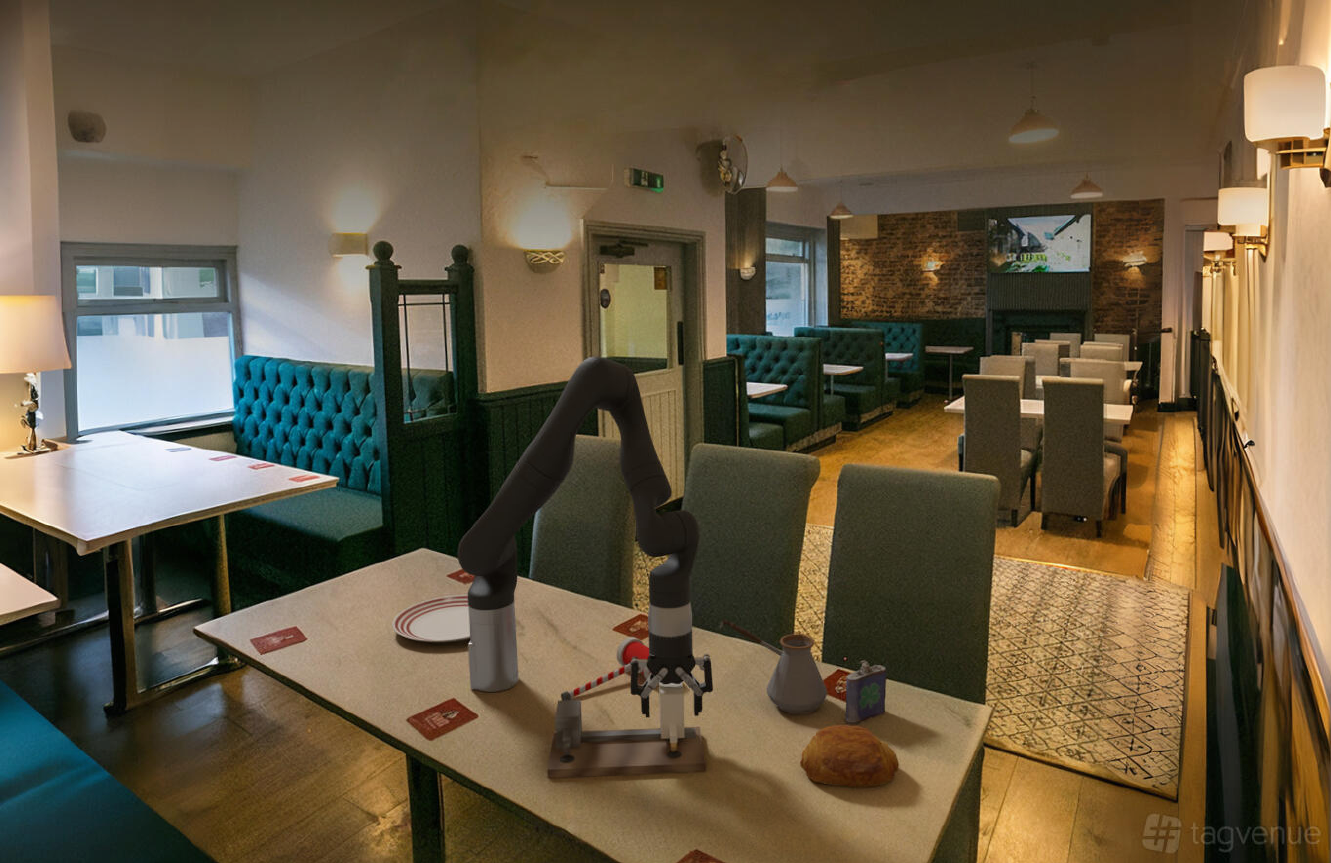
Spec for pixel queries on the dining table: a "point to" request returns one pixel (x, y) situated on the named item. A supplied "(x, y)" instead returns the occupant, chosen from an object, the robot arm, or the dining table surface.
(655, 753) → the base
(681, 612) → the robot arm
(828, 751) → the croissant
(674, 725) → the gauge slider
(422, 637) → the dinner plate
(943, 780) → the dining table surface
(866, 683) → the flask
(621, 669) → the toy hammer
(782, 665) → the coffee pot
